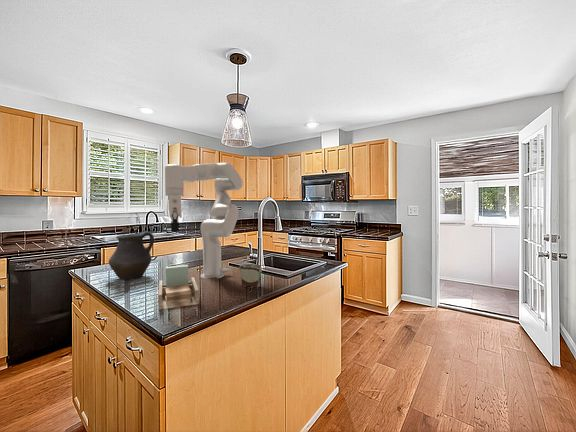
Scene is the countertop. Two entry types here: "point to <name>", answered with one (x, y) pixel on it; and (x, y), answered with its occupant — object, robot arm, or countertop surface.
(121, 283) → the countertop surface
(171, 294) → the offcut
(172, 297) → the offcut
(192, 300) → the rack
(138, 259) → the pitcher
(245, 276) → the food container
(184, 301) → the offcut
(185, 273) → the pale green slab
